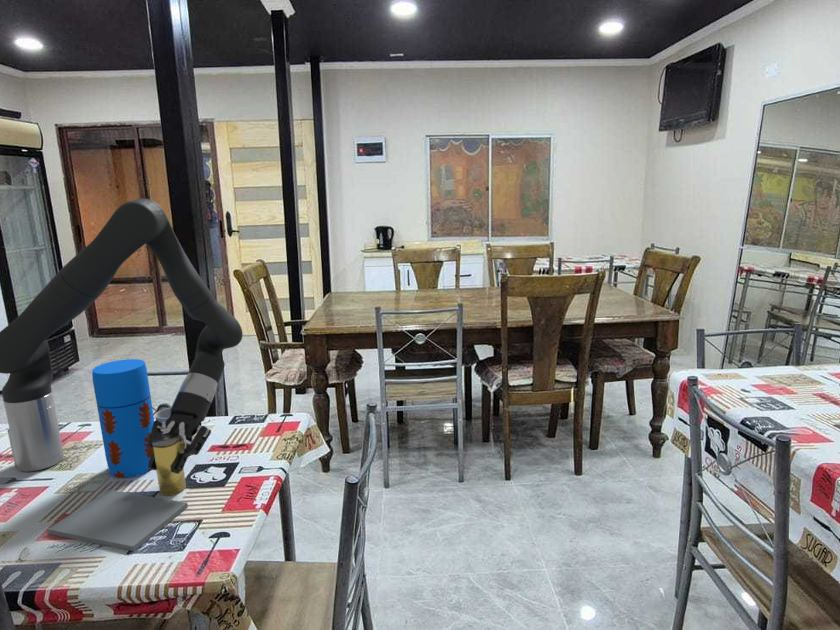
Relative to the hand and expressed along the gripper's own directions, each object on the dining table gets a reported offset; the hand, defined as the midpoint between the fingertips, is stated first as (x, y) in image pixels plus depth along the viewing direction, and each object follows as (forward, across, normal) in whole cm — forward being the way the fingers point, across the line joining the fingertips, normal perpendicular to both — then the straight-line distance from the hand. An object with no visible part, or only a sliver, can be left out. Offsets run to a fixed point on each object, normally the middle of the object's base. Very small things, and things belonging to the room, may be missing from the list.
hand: (163, 470), depth 110 cm
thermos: (-2, -16, +10) cm, 19 cm away
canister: (+3, 0, +5) cm, 6 cm away
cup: (-11, -14, +19) cm, 26 cm away
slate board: (+11, -2, -3) cm, 12 cm away
